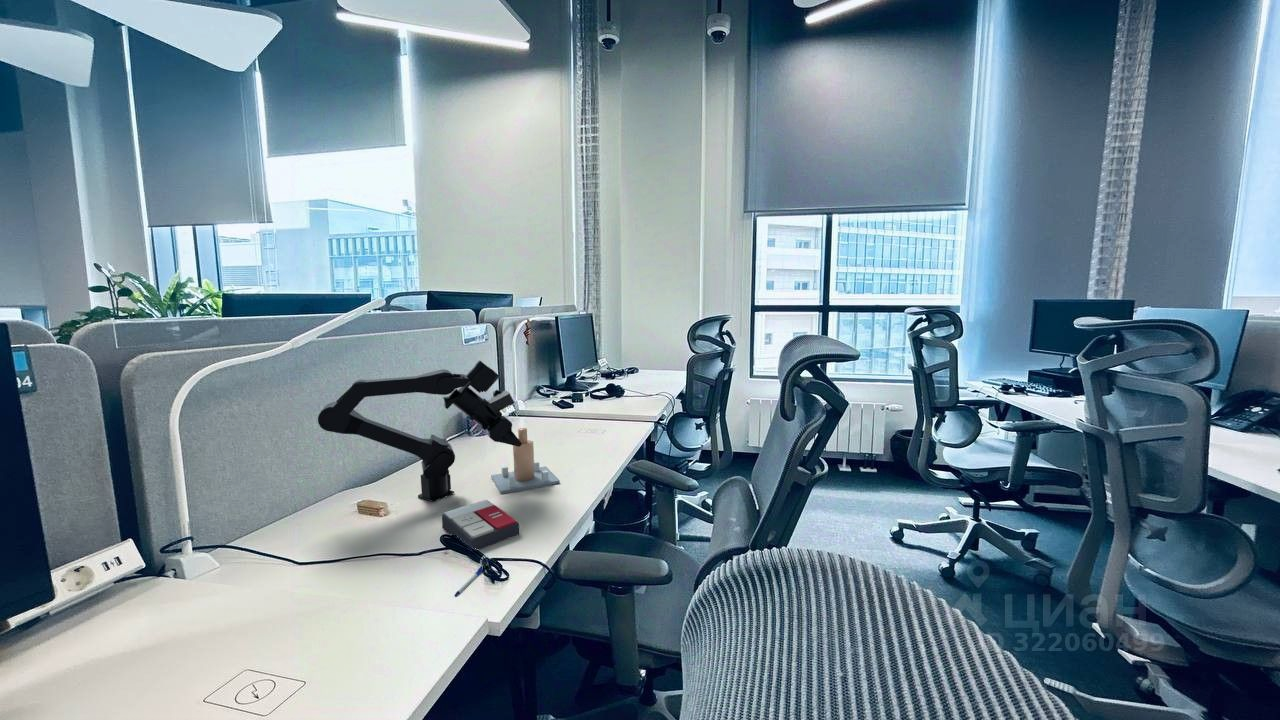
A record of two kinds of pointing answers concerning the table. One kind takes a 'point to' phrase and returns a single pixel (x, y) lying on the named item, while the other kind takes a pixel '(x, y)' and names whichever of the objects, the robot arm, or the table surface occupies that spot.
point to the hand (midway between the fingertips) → (516, 440)
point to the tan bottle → (523, 458)
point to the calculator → (480, 524)
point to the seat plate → (509, 484)
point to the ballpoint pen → (469, 581)
